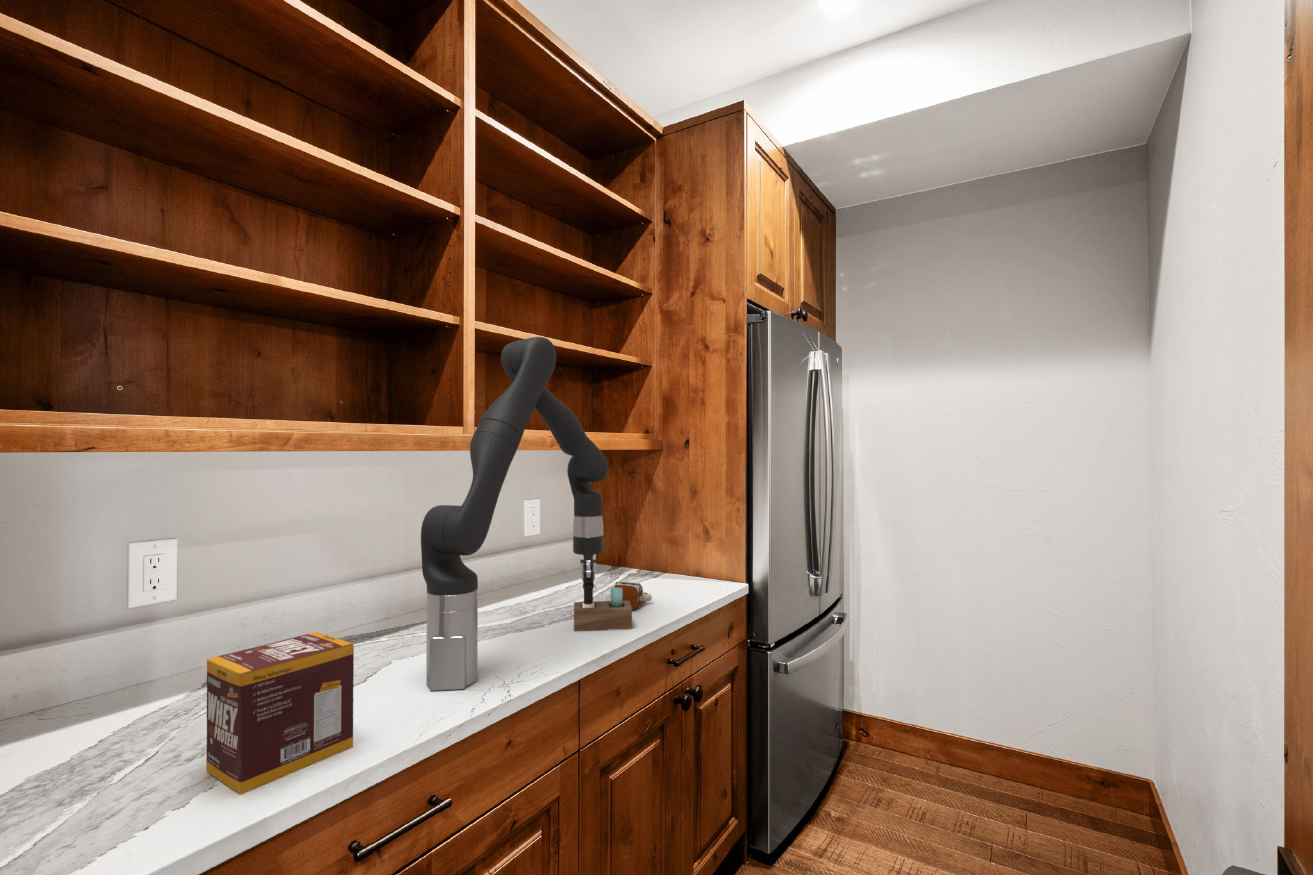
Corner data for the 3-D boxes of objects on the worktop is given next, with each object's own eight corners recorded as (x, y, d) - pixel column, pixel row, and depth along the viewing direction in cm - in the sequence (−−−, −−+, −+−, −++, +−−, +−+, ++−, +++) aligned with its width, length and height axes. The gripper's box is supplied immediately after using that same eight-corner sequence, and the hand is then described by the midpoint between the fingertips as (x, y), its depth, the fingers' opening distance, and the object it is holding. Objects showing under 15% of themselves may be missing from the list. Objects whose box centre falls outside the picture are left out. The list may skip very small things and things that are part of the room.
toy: (657, 582, 179) (639, 584, 165) (656, 606, 178) (638, 610, 164) (628, 580, 182) (608, 582, 168) (627, 603, 181) (606, 607, 167)
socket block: (631, 629, 150) (631, 608, 150) (573, 631, 148) (573, 610, 148) (629, 619, 158) (629, 600, 158) (574, 621, 156) (574, 602, 156)
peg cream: (594, 625, 151) (594, 604, 151) (582, 625, 151) (582, 605, 151) (594, 621, 154) (594, 601, 154) (582, 622, 154) (582, 602, 154)
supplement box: (203, 772, 84) (204, 657, 84) (317, 729, 97) (318, 630, 97) (238, 796, 78) (239, 673, 78) (354, 747, 91) (355, 641, 91)
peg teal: (622, 610, 152) (622, 589, 152) (610, 610, 152) (610, 590, 152) (622, 607, 155) (622, 587, 155) (610, 607, 155) (610, 587, 155)
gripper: (573, 530, 159) (573, 597, 159) (572, 537, 146) (572, 611, 146) (602, 529, 160) (602, 596, 160) (604, 537, 147) (604, 610, 146)
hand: (588, 603), depth 153 cm, fingers closed
